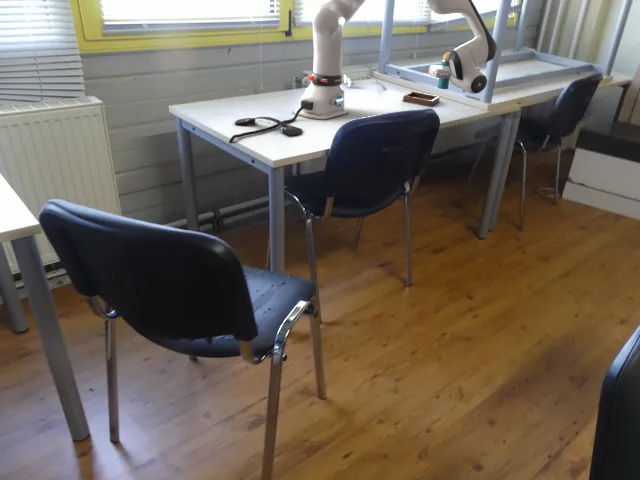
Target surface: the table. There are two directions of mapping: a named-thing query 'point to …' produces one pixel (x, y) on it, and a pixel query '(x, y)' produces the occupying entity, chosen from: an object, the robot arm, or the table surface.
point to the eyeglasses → (353, 81)
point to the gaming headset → (286, 129)
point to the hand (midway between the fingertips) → (445, 68)
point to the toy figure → (444, 82)
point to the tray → (421, 98)
